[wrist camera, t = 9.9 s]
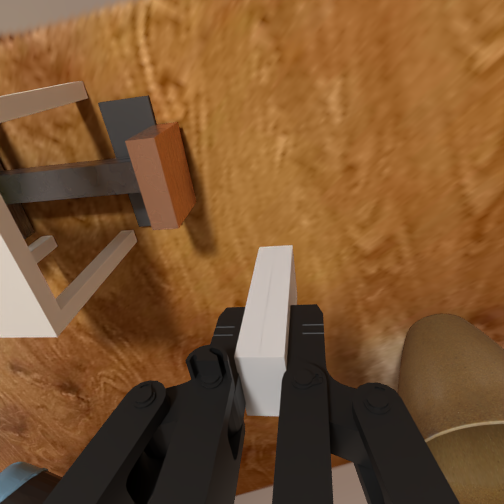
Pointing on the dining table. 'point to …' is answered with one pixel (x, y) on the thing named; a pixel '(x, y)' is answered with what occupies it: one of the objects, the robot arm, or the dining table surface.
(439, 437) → the plant pot
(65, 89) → the white mini stool
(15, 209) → the long-handled tray
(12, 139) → the dining table surface
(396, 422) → the robot arm
